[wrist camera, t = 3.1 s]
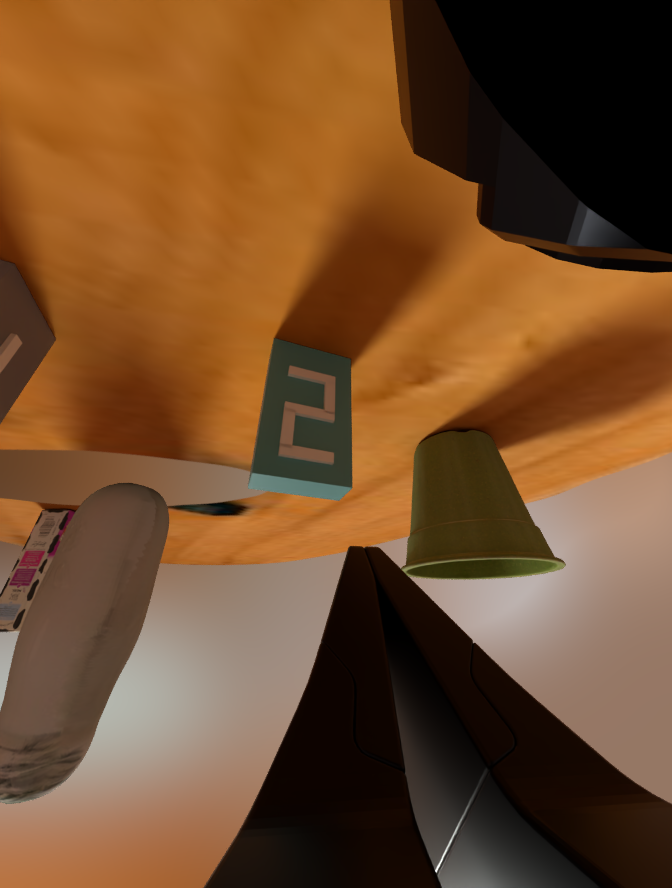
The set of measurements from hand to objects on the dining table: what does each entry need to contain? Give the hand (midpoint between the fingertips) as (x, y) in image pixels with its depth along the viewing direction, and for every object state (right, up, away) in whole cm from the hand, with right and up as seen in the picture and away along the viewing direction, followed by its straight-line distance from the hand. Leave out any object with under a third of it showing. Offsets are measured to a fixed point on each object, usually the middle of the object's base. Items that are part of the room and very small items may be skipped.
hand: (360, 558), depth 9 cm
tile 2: (-2, +9, +12) cm, 15 cm away
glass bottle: (-27, -2, +32) cm, 41 cm away
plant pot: (+11, +3, +22) cm, 24 cm away
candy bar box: (-44, -9, +45) cm, 63 cm away
